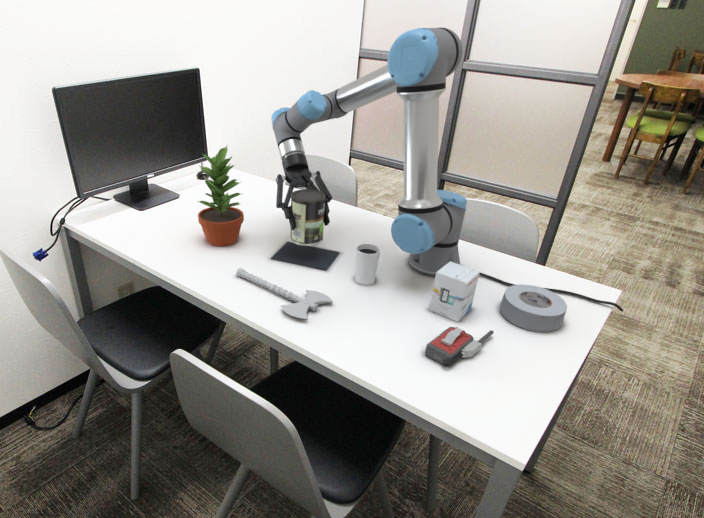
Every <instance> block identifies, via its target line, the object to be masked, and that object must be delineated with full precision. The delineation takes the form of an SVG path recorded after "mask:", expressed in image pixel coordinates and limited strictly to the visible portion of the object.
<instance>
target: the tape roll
mask: <svg viewBox="0 0 704 518" xmlns="http://www.w3.org/2000/svg"><path fill="white" fill-rule="evenodd" d="M544 288H545V287H541V286H538V285H533V284H515V285H513V286H509V287H507V288H506V289H505V290H504V293H503V296H502V299H501V302H500V305H499V312H500V314H501V315H502V317H503V318H504V319H505V320H507V321H508V322H509V323H511V324H513V325H515V326H516V327H519V328H522V329H524V330H527V331H532V332H537V333H549V332H554V331H556V330H558V329H559V328H560V327H561V325H562V323H563V321H564V318H565V315H566V312H567V309H568V304H567V303H566V301H565V300H564V299H563V298H562V297H561V296H560V295H558V294H557V293H556V292H553V291H549V290H547V289H544Z"/></svg>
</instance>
